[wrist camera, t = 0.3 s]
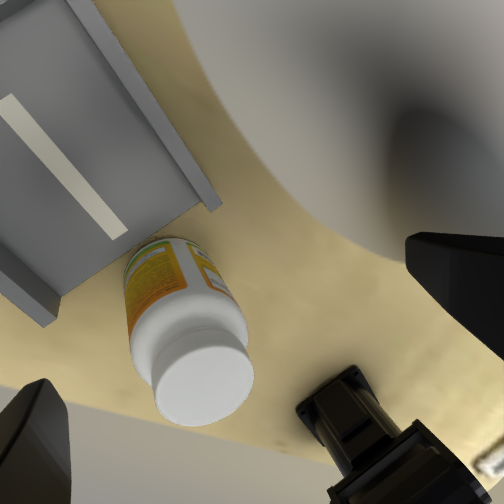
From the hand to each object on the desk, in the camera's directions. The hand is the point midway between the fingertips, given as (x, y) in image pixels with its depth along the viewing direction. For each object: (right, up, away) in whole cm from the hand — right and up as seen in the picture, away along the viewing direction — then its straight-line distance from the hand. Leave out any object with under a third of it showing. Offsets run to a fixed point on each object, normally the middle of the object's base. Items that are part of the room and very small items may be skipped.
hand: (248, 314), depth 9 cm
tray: (-10, +6, +9) cm, 15 cm away
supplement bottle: (-5, 0, +14) cm, 15 cm away
